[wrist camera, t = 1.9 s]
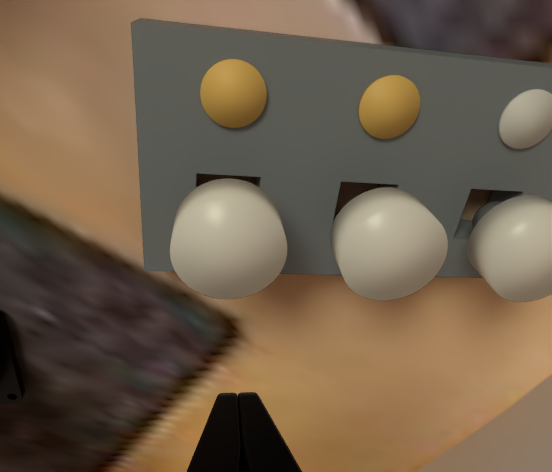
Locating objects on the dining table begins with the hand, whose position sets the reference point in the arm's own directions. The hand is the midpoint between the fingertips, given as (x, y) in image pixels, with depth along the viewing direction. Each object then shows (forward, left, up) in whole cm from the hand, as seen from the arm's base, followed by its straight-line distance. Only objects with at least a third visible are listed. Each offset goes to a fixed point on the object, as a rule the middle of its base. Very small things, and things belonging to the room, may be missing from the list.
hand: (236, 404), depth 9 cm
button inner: (0, 0, -10) cm, 10 cm away
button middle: (0, -6, -10) cm, 11 cm away
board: (+2, -6, -12) cm, 13 cm away
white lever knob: (0, -12, -10) cm, 15 cm away
